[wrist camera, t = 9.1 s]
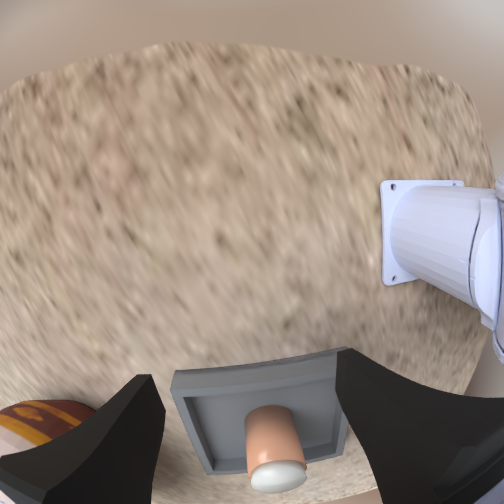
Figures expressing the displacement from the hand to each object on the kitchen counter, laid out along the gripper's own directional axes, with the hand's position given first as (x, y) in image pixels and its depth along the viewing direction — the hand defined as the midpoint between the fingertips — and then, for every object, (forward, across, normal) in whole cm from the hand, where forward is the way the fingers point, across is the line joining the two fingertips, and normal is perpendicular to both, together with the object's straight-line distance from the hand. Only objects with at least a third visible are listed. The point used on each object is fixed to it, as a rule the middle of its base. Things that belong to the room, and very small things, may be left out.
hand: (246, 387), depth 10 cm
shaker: (+9, -1, +12) cm, 15 cm away
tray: (+10, -1, +12) cm, 16 cm away
